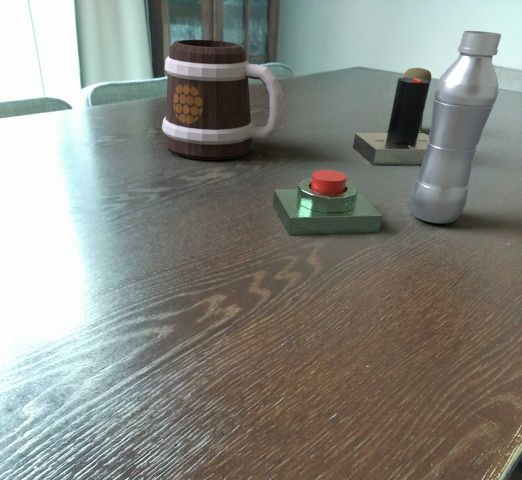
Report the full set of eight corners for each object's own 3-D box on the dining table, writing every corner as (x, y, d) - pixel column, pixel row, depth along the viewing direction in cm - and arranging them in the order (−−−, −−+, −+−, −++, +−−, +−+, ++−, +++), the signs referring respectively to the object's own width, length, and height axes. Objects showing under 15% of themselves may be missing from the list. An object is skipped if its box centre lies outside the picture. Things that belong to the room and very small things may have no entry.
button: (338, 184, 60) (340, 169, 59) (349, 195, 57) (351, 180, 56) (307, 184, 60) (308, 169, 59) (316, 196, 57) (317, 181, 56)
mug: (145, 152, 78) (135, 42, 69) (189, 132, 90) (186, 35, 81) (262, 173, 73) (268, 57, 64) (293, 148, 85) (302, 47, 76)
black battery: (382, 136, 85) (393, 74, 79) (409, 136, 85) (422, 75, 80) (393, 144, 81) (406, 80, 75) (421, 144, 82) (436, 81, 76)
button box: (354, 204, 65) (359, 174, 63) (379, 233, 58) (386, 199, 56) (272, 206, 63) (274, 174, 61) (288, 235, 56) (291, 201, 54)
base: (420, 147, 90) (424, 132, 88) (446, 164, 82) (451, 148, 80) (352, 147, 87) (355, 131, 86) (373, 165, 80) (376, 147, 78)
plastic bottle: (463, 232, 60) (525, 38, 47) (406, 226, 60) (453, 32, 48) (455, 213, 65) (510, 32, 53) (403, 207, 65) (445, 27, 53)
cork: (424, 135, 97) (439, 71, 90) (394, 133, 97) (407, 70, 90) (416, 127, 102) (430, 66, 95) (388, 126, 102) (399, 65, 95)
